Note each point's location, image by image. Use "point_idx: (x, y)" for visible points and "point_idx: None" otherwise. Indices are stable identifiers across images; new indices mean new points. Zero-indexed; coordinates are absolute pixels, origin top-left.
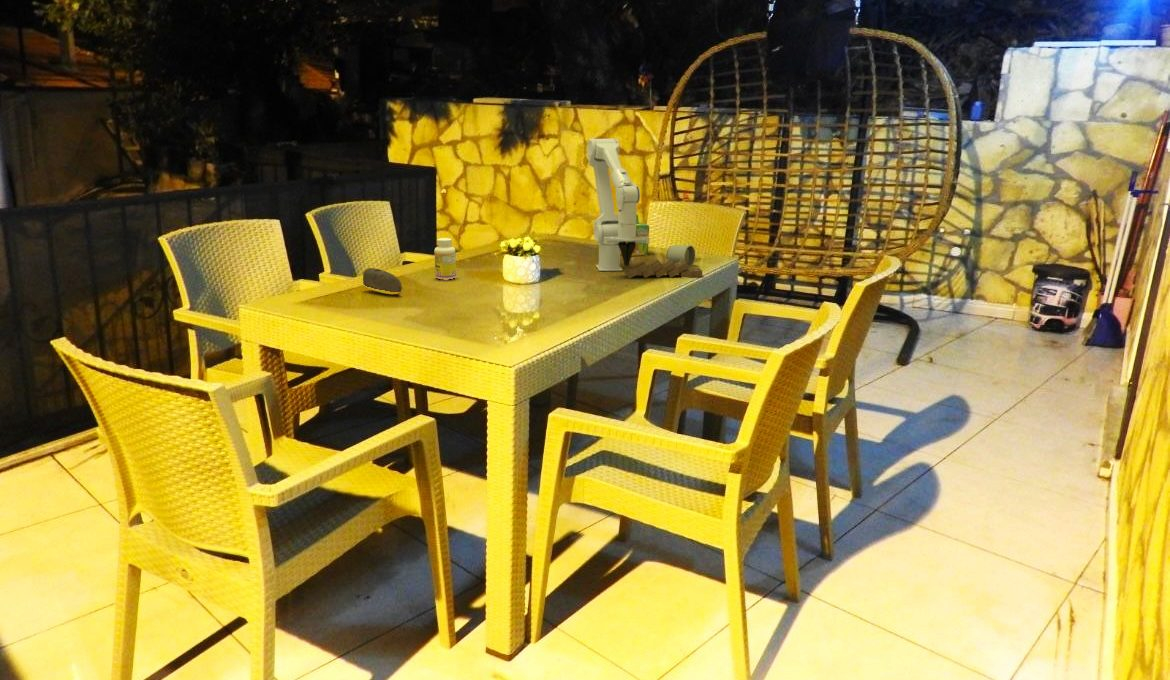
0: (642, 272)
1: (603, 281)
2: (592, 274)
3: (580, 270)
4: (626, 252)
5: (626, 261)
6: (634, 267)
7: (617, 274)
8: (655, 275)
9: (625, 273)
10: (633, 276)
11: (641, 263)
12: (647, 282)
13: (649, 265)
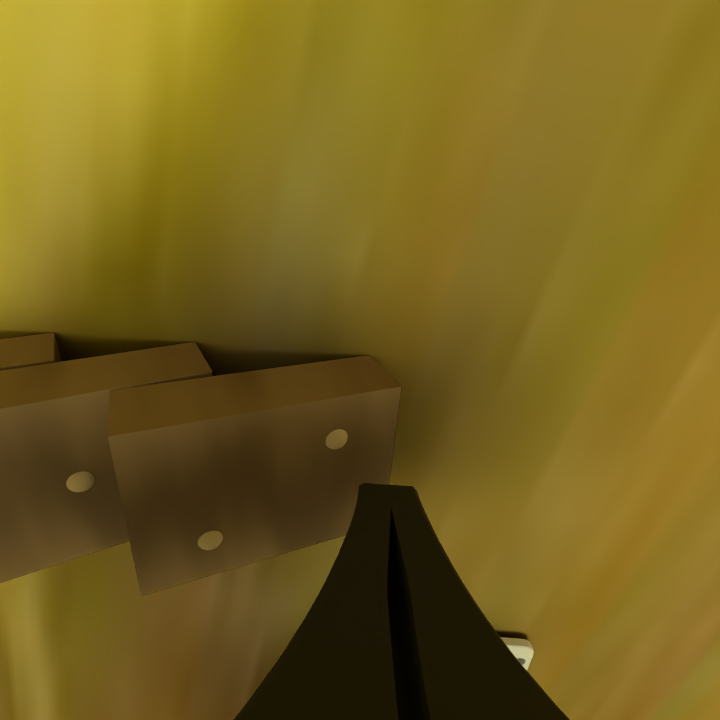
0: None
1: (709, 262)
2: (636, 563)
3: (650, 678)
4: (431, 653)
5: (402, 521)
6: (281, 482)
7: None
8: None
9: None
10: (320, 362)
11: (175, 529)
12: (192, 101)
13: (82, 507)
